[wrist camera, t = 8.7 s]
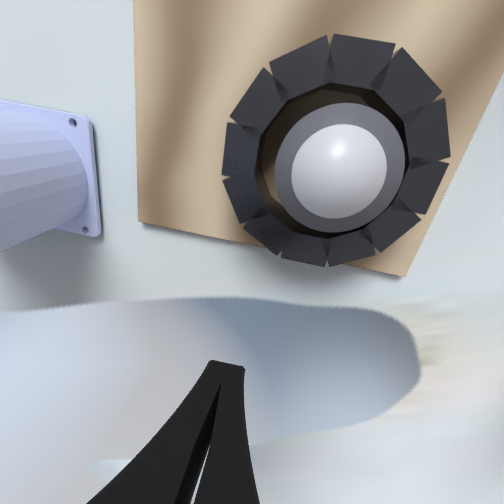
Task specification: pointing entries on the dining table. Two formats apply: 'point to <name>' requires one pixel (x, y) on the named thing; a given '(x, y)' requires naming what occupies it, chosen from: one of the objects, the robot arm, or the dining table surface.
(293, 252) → the segmented dark ring
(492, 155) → the dining table surface
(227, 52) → the tan wooden board
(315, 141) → the grey domed cylinder
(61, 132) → the robot arm
